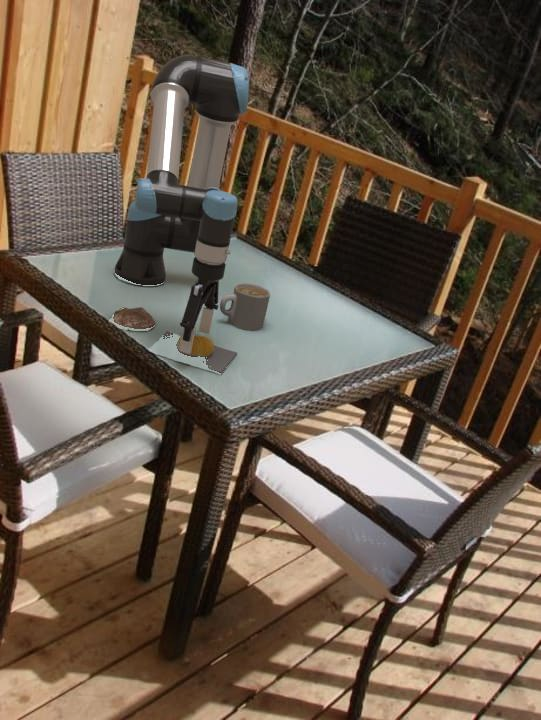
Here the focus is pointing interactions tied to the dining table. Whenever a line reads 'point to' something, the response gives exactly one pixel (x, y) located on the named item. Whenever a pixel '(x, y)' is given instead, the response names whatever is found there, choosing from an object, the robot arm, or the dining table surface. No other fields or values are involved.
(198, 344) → the bread roll
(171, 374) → the dining table surface
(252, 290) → the coffee mug
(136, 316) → the shell
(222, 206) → the robot arm
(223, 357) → the mat
